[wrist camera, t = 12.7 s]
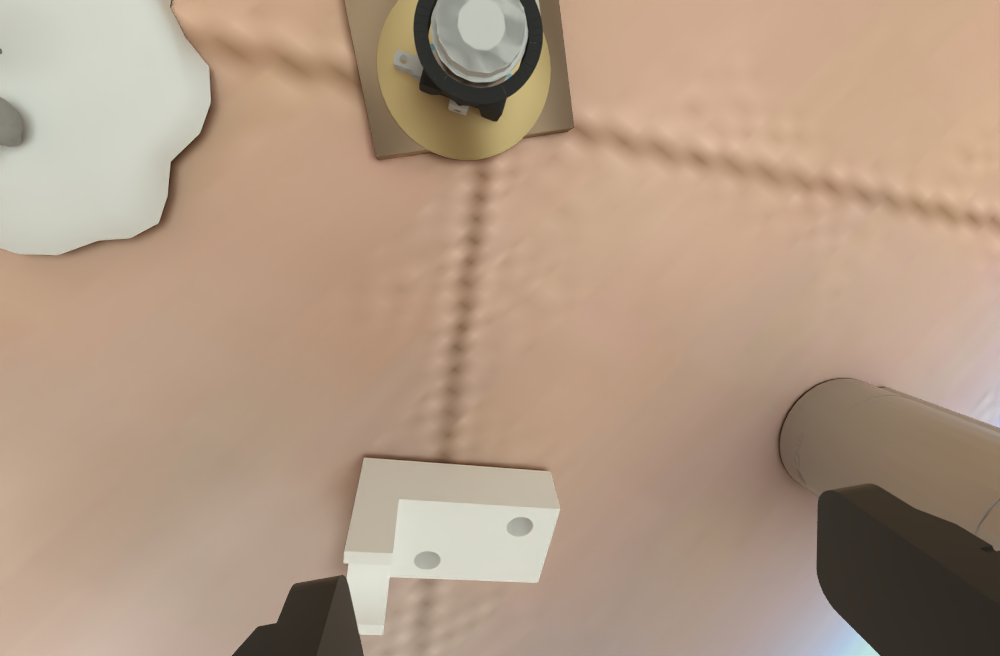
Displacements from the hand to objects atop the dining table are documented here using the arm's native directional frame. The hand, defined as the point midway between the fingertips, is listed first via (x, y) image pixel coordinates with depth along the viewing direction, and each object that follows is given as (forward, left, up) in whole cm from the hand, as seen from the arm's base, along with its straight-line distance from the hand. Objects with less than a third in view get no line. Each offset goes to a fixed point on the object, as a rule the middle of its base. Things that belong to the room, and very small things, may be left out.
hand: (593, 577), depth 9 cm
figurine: (+21, -17, -27) cm, 38 cm away
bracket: (+4, +15, -27) cm, 31 cm away
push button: (-1, -13, -25) cm, 28 cm away
